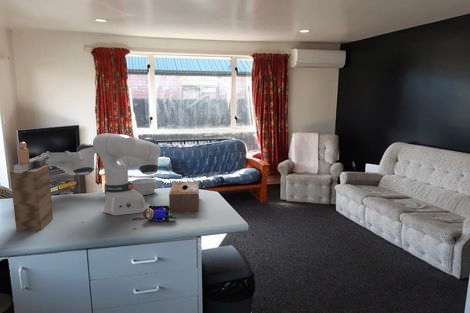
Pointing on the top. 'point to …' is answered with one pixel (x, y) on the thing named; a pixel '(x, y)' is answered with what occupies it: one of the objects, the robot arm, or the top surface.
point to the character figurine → (158, 213)
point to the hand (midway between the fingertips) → (57, 152)
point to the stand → (32, 197)
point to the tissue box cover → (184, 197)
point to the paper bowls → (145, 185)
